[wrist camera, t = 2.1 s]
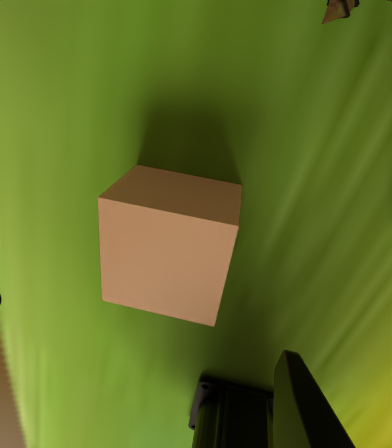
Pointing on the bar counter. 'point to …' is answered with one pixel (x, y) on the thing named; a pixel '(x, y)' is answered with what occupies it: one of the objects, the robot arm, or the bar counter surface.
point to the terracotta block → (168, 242)
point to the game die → (339, 9)
